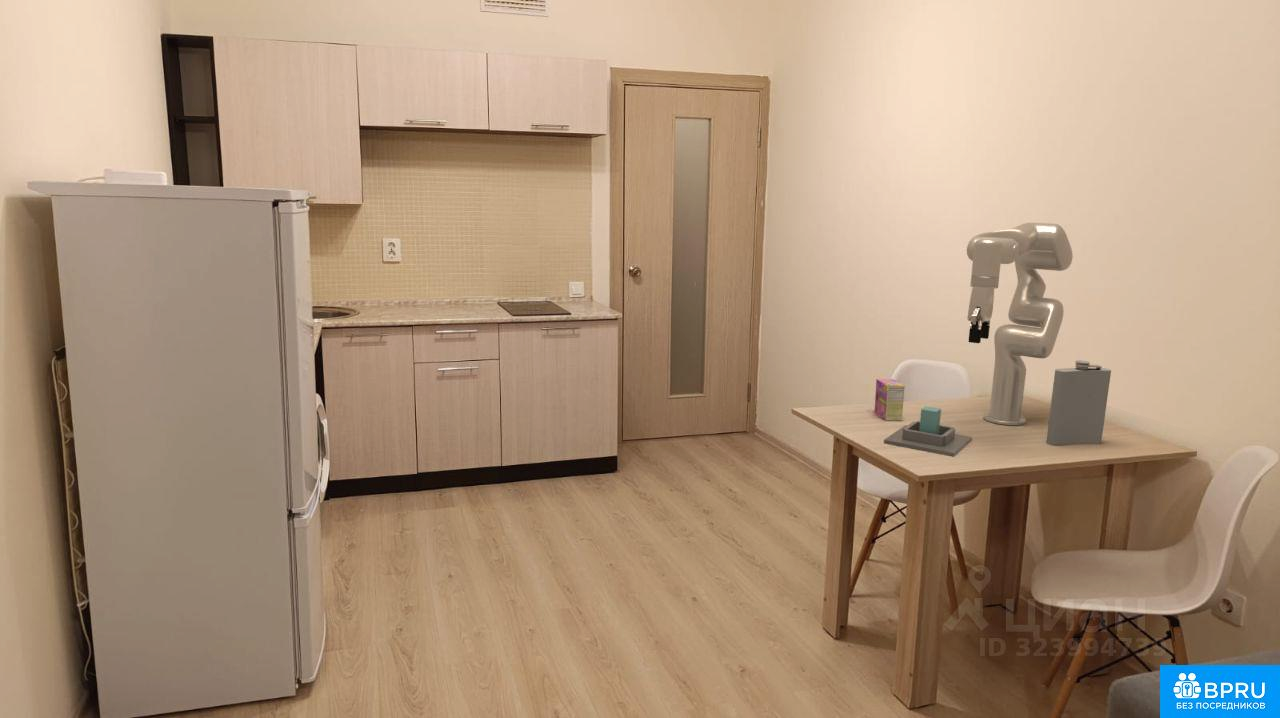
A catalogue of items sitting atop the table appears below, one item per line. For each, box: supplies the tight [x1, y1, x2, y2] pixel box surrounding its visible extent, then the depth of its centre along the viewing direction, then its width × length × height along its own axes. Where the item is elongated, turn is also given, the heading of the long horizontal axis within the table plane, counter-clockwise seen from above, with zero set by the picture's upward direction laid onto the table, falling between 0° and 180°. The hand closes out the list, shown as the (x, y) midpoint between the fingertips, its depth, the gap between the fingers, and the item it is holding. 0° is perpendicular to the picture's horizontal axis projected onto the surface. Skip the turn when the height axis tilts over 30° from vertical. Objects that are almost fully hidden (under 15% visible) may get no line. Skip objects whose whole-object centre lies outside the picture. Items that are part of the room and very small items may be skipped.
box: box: [874, 378, 905, 422], centre depth 275 cm, size 10×6×12 cm, turn 5°
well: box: [883, 420, 973, 457], centre depth 249 cm, size 20×20×4 cm
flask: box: [1045, 359, 1112, 447], centre depth 249 cm, size 17×5×25 cm, turn 101°
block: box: [919, 406, 942, 435], centre depth 249 cm, size 4×4×9 cm
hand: (978, 340), depth 247 cm, fingers open, 9 cm apart
